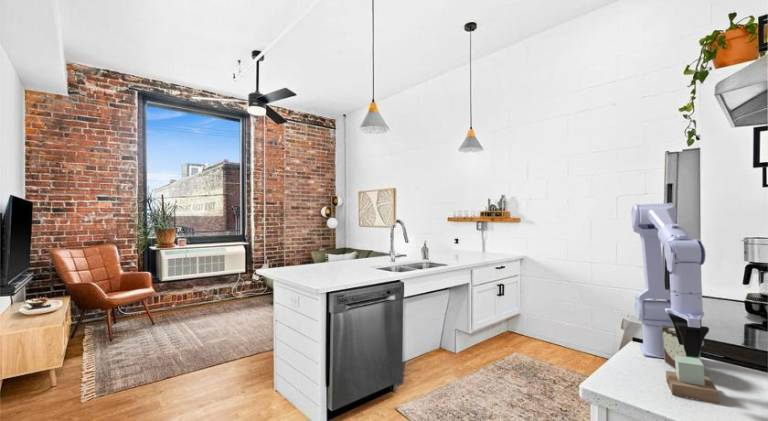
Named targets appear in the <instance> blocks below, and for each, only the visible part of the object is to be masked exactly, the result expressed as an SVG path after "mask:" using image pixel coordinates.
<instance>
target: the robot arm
mask: <svg viewBox="0 0 768 421" xmlns="http://www.w3.org/2000/svg"><path fill="white" fill-rule="evenodd" d="M630 214H631V215H630V216H631V226H632V227H631V228H632V231H633V232H634V233H637V234H638V235H639V237H640V240H641V249H642V250H641V251H642V260H643V262H642V263H643V272H644V283H645V284H644V285H645V288H644V289H642V290H641V291H640V292H637V293H636V295H635V302H634V312H635V315H636V318H637V320H638V321H640V322H642V327H641V328H642V343H640V344H639V347H640V349H641V352H642V355H643V356H645V357H651V358H659V359H665V358H664V348H663V338H662V332H661V325H668V326H674V328H675V331H676V335H677V339H678V342H679V344H680V345H683V346H684V350H685V353H686V355H687V356H693V357H699V354H700V355H701V351H702V350H701V349H702V347H703V346H702V342H703V341H704V339H705V337H706V336H707V335H708V334H709V332H710V328H709V327H708V326H703V325H702V326H701V319H703V318H704V317H705V312H704V310H703V308H704V306H703V286H702V265H704V264H705V262H706V257H707V256H706V249H705V246H704V243H703V241H702V240H701V239H696V238H692V237H691V236H690V234H689V232H687V231H686V229H685V228H684V227H683V226H682V225H680V224H679V223H675V222H677V221H676V220H677V208H676V206H675V205H674V204H673V203H672V202H667V203H648V204H646V203H643V204H640V203H639V204H638V203H634V204H633V205H632V207H631V211H630ZM662 246H663V247H664V257H665V258H664V259H665V262H666V268H667V269H666V270H667V271H668V272H669V286H670V287H669V291H670V292H669V291H668V290H666V285H665V284H666V283H665V273H664V263H663V254H662ZM649 299H650V300H649ZM700 350H701V351H700Z"/></svg>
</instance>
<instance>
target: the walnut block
mask: <svg viewBox="0 0 768 421" xmlns="http://www.w3.org/2000/svg"><path fill="white" fill-rule="evenodd" d="M665 379H666V380H665V381H666V383H667V386H668V388H669V390H671V391H670V393H671V395H672V396H673V395H674V397H680V398H685V397H688V398H687V399H691V398H693V399H692V400H696V399H698V401H704V402H708V403H715V404H720V394H719V390H718V389H717V387H716V386H715V384H714V383H713V381H712V380H711V378H710V377H709V376H706V375H704V380H705V386H703V385H696V384H690V383H684V382H679V380H678V378H677V375H676V371H670V370H665Z"/></svg>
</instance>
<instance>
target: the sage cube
mask: <svg viewBox="0 0 768 421" xmlns="http://www.w3.org/2000/svg"><path fill="white" fill-rule="evenodd" d="M675 366H676V370H675V372H676V375H677V378H678V380H679V382H684V383H690V384H696V385H703V386H705V380H704V376H705V365H704V363H703V362H702V361H701V358H700V359H698V358H691V357H683V356H675Z"/></svg>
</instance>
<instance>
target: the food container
mask: <svg viewBox="0 0 768 421" xmlns="http://www.w3.org/2000/svg"><path fill="white" fill-rule="evenodd" d="M661 332H662V338H663V348H664V358H663V359H664V363H665V364H667V365H668V366H669V367H671V368H672V369H673V370H675V371H676V366H675V356H683V357H691V358H698V359H700V360H701V353H700V354H699V357H693V356H687V355H686V353H685V350H684V346H683V345H680V344H679V342H678V339H677V335H676V331H675V328H674V326H668V325H661ZM704 345H705V341H704V340H703V342H702V346H701V347H703V346H704ZM701 351H702V350H700V352H701Z"/></svg>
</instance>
